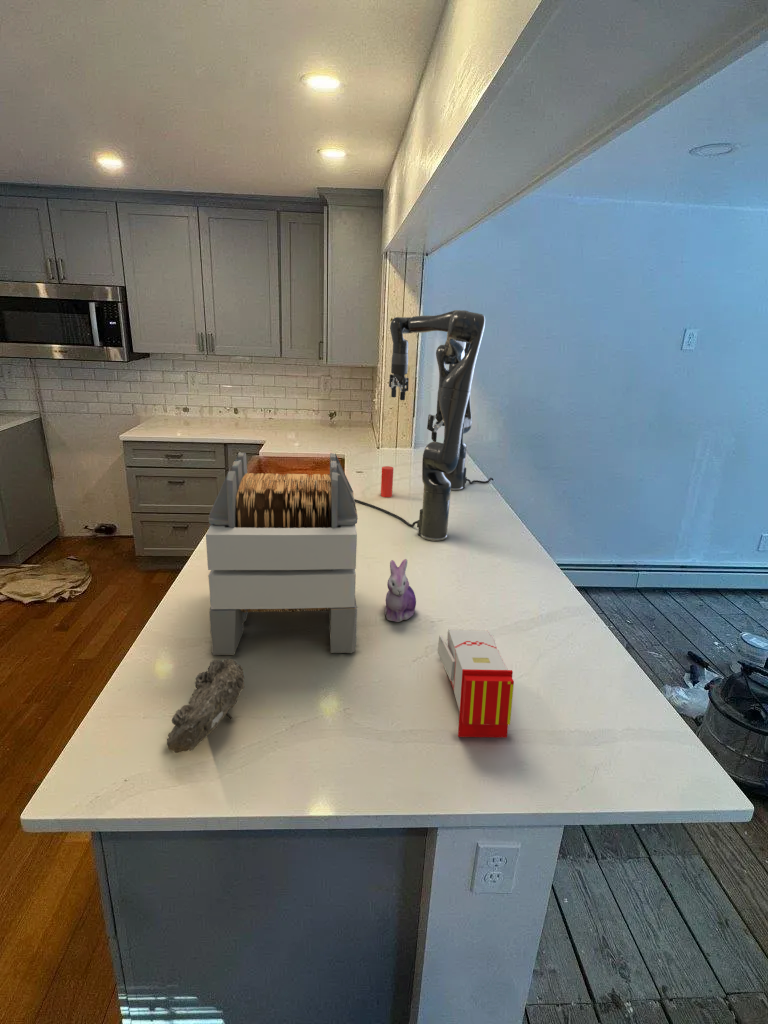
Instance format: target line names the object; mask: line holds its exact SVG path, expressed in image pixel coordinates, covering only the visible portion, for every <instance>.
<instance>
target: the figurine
mask: <svg viewBox="0 0 768 1024" xmlns="http://www.w3.org/2000/svg"><path fill="white" fill-rule="evenodd" d="M407 567H408V559H406V558H404V559H403V560H402V561H401V563H400V565H399V566H398V565H397V563H396V562H395V561H394V560H393V559H391V560H390V561H389V570H390V576H389V578H388V579H387V589H388V591H387V592H386V594H385V595H386V596H385V607H384V615H385V616H386V620H387V621H391V622H395V623H400V622H402V621H406V620H409V619H410V618H411V617H413V616H414V615H415V610H416V606H417V597H416V593H415V591H414V590H413V587H411V586H410V582H409V579H408V577H407V574H406V571H407Z"/></svg>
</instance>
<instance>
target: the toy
mask: <svg viewBox="0 0 768 1024" xmlns="http://www.w3.org/2000/svg"><path fill="white" fill-rule="evenodd" d="M446 640H447V643H446V641H445V639H444V636H443V635H442V634H439V637H438V646H437V656H438V657H439V659H440V661H441V663H442V666H443V668H444V670H445V672H446V674H447V677H448V679H449V681H450V684H451V687H452V690H453V693H454V697H455V701H456V705H457V708H458V711H459V714H458V715H459V716H458V730H457V731H458V732H457V737H458V738H508V731H509V726H510V725H511V717H512V707H513V697H514V696H513V695H514V684H515V680H514V679H513V673H514V671H513V670H512V669H508V667H507V665H506V662H505V661H504V659H503V658H502V655H501V653H500V651H499V649H498V647H497V643H496V639H495V637H494V635H493V634H491V632H490V631H489V629H467V628H466V629H465V628H463V629H461V628H460V629H459V628H448V630H447V639H446Z"/></svg>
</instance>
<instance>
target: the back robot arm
mask: <svg viewBox="0 0 768 1024" xmlns="http://www.w3.org/2000/svg"><path fill="white" fill-rule="evenodd" d="M457 310H458V309H454V310H451V311H448V312H444V313H442V314H436V315H435V314H434V315H414V316H411V317H410V316H408V317H406V316H405V317H404V316H395V317H393V318H392V319H391V322H390V325H389V329H390V335H391V341H392V354H391V364H390V365H391V367H390V370H391V371H390V372H391V373H390V374H389V380H388V381H389V382H388V387H389V388H390V390H391V392H390V393H391V395H390V397H391V398H397V388H399V390H400V392H399V400H400V401H405V400H406V392H409V384H410V383H409V380H410V379H409V377H405V375H407V374H408V371H409V369H408V368H409V341H408V340H407V339H405V338H404V335H406V334H408V335H409V334H422V333H429V332H430V333H431V332H444V333H447V331H448V325H449V321H450V318H451V316H452V314H453V312H455V311H457ZM462 311H467V312H470V311H469V310H466V309H465V310H464V309H462ZM469 346H470V343H467V342H466V346H465V349H464V354H466V353H467V351H468V349H469ZM464 356H465V355H464ZM456 366H457V365H450V364H448V370H451V371H452V370H453V369H454V368H455V367H456ZM472 424H473V418H472V406H471V394H470V395H469V399H468V404H467V408H466V412H465V417H464V423H463V429H462V436H461V446H460V454H459V460H458V463H457V466H456V468H455V469H454V470H453V471H452V472H451V473H443V474H444V476H445V477H446V478H447V479H448V480H449V481H450V483H451V491H461V490H463V489H465V488H466V484H467V482H468V483H469V484H470V485H472V484H474V483H479V484H488V483H490V482H491V481H494V478H493V477H489V478H488V479H487V480H485V481H483V480H477V479H473V480H470V479H469V478H467V476H466V475H467V467H466V456H467V444H466V443H465V442H464V434H467V433H468V432H470V430H471V428H472ZM444 436H445V427H444V432H443V437H444Z"/></svg>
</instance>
